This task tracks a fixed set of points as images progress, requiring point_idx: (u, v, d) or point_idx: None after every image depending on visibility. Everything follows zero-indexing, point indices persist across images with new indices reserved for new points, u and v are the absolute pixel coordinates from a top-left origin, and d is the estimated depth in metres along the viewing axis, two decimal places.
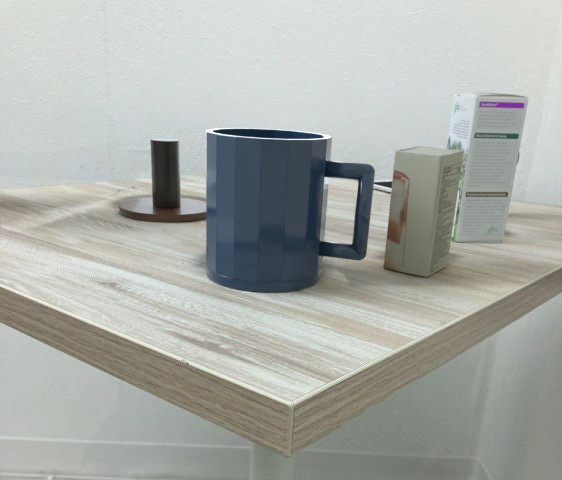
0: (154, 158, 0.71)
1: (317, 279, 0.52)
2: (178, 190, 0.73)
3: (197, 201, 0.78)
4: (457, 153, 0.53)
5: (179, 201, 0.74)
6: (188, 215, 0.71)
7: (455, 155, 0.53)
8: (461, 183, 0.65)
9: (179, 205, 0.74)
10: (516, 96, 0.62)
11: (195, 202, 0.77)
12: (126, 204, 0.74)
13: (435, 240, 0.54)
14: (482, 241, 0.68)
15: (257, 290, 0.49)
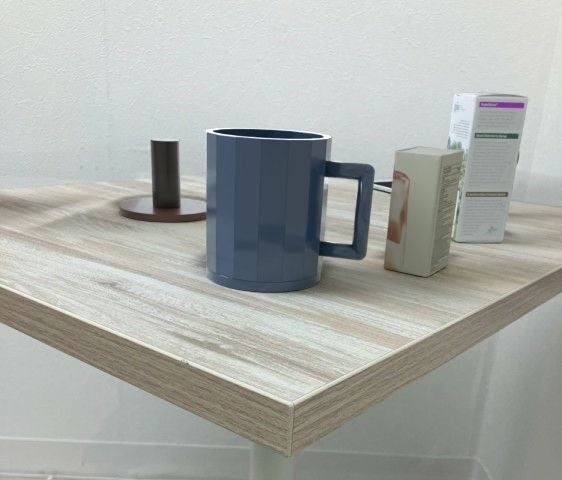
0: (154, 158, 0.71)
1: (317, 279, 0.52)
2: (178, 190, 0.73)
3: (197, 201, 0.78)
4: (457, 153, 0.53)
5: (179, 201, 0.74)
6: (188, 215, 0.71)
7: (455, 155, 0.53)
8: (461, 183, 0.65)
9: (179, 205, 0.74)
10: (516, 96, 0.62)
11: (195, 202, 0.77)
12: (126, 204, 0.74)
13: (435, 240, 0.54)
14: (482, 241, 0.68)
15: (257, 290, 0.49)
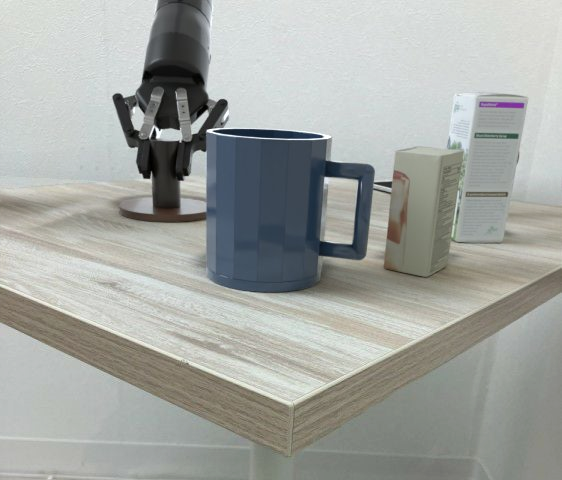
0: (154, 158, 0.71)
1: (317, 279, 0.52)
2: (178, 190, 0.73)
3: (197, 201, 0.78)
4: (457, 153, 0.53)
5: (179, 201, 0.74)
6: (188, 215, 0.71)
7: (455, 155, 0.53)
8: (461, 183, 0.65)
9: (179, 205, 0.74)
10: (516, 96, 0.62)
11: (195, 202, 0.77)
12: (126, 204, 0.74)
13: (435, 240, 0.54)
14: (482, 241, 0.68)
15: (257, 290, 0.49)
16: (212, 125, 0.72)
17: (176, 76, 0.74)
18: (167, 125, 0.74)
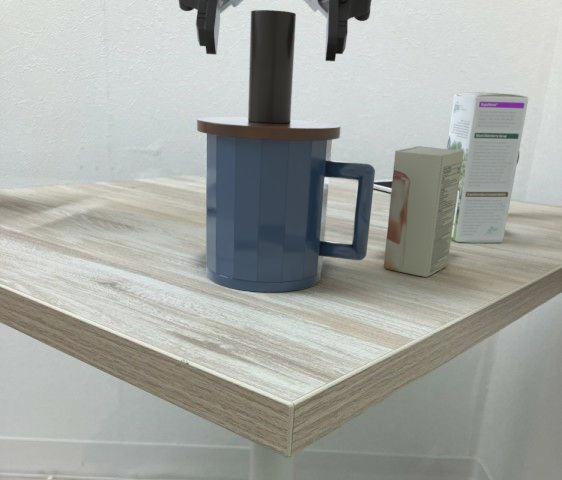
0: (257, 41, 0.45)
1: (317, 279, 0.52)
2: (290, 96, 0.47)
3: (309, 121, 0.52)
4: (457, 153, 0.53)
5: (290, 114, 0.48)
6: (312, 130, 0.44)
7: (455, 155, 0.53)
8: (461, 183, 0.65)
9: (289, 121, 0.48)
10: (516, 96, 0.62)
11: (307, 121, 0.51)
12: (207, 119, 0.48)
13: (435, 240, 0.54)
14: (482, 241, 0.68)
15: (257, 290, 0.49)
16: None
17: None
18: None
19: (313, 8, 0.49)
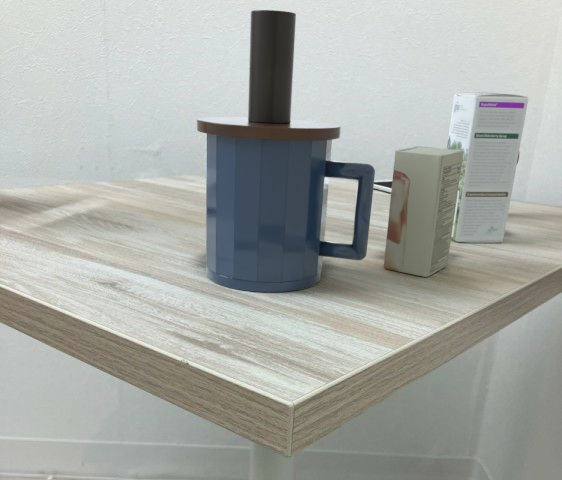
0: (257, 41, 0.45)
1: (317, 279, 0.52)
2: (290, 96, 0.47)
3: (309, 121, 0.52)
4: (457, 153, 0.53)
5: (290, 114, 0.48)
6: (312, 130, 0.44)
7: (455, 155, 0.53)
8: (461, 183, 0.65)
9: (289, 121, 0.48)
10: (516, 96, 0.62)
11: (307, 121, 0.51)
12: (207, 119, 0.48)
13: (435, 240, 0.54)
14: (482, 241, 0.68)
15: (257, 290, 0.49)
16: None
17: None
18: None
19: None
